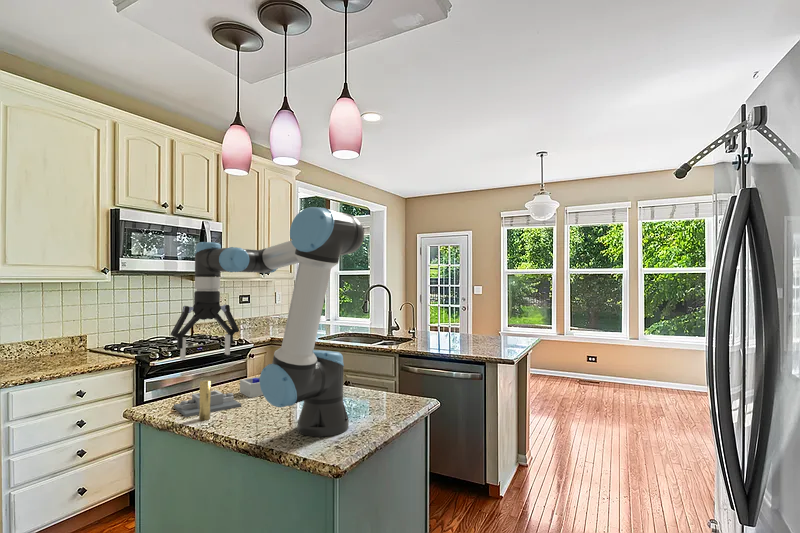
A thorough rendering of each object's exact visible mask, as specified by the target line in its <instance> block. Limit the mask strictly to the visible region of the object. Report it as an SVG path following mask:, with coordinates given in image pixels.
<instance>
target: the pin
mask: <svg viewBox="0 0 800 533" xmlns="http://www.w3.org/2000/svg"><path fill="white" fill-rule="evenodd" d="M211 388H212V381H211V380H210V379H203V380H200V381H199V393H200V403H199V415H198V417H199V418H198V420H199V421H200V420H202V422H203V421H204V420H206V421H209V420H211V412H210V401H211V391H212V390H211Z"/></svg>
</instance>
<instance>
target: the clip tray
mask: <svg viewBox="0 0 800 533" xmlns="http://www.w3.org/2000/svg"><path fill="white" fill-rule="evenodd" d="M253 378H257V379H259V381H260V376H255V377H250V378H243V379H242V378H241V379H240V380H239V393H240V394H242V395H244V396H246V397H248V398H255V397H261V396H264V395H263V393H262V391H261V387H260V382H258V383H252V381H253Z"/></svg>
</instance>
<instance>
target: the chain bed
mask: <svg viewBox="0 0 800 533" xmlns="http://www.w3.org/2000/svg"><path fill="white" fill-rule="evenodd" d="M199 403H200V392H196V393H192V394H191V399H188V400H181V401H180V402H179V403H175V404H173V409H175V410H176V411H178V412H179V413H180V414H181V415H183V417H185V418H189V417H194V416H199ZM241 407H242V404H241V402H238V401H237V400H235V397H234V393H233V392H227V393H223V392H221V391H219V390H211V401H210V413H213V412H215V413H216V412H219V411H225V410H230V409H231V410H232V409H235V408H241Z"/></svg>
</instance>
